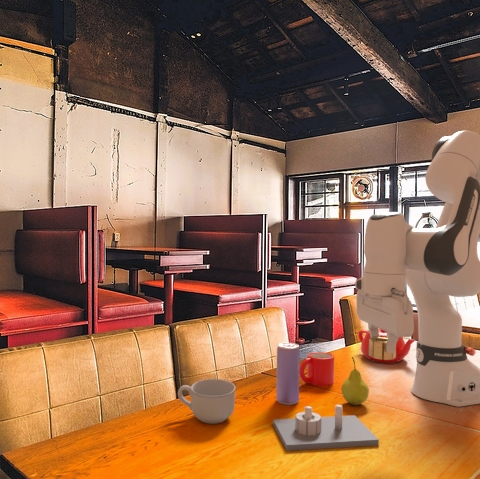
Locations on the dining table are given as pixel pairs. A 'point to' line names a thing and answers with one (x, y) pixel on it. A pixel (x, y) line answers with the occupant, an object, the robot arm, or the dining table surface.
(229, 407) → the teacup
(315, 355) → the mug
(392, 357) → the brass gear
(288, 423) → the gear board
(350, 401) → the fruit
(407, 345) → the teapot
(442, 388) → the robot arm
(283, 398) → the beverage can
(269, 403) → the dining table surface
